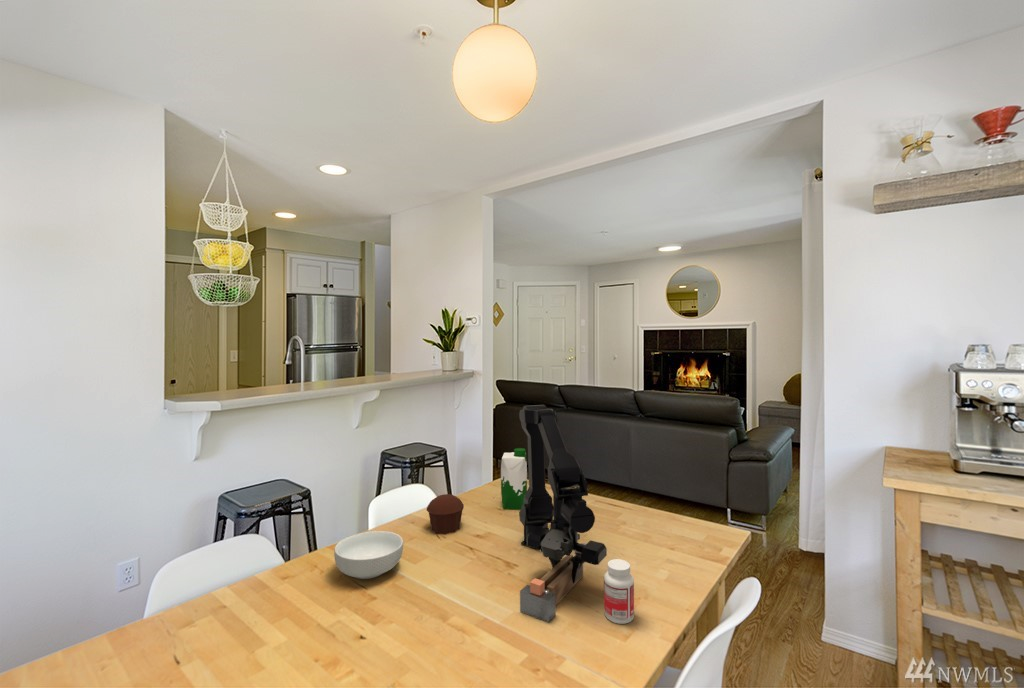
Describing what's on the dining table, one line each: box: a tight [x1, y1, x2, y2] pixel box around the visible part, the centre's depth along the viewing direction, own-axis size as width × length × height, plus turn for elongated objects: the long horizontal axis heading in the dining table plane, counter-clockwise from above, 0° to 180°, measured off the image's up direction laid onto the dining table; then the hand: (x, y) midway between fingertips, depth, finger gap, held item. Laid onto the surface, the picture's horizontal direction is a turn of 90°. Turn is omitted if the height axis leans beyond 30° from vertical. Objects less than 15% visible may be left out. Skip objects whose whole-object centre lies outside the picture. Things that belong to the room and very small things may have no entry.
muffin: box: [426, 493, 465, 535], centre depth 141 cm, size 12×11×10 cm
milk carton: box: [500, 447, 528, 511], centre depth 160 cm, size 9×9×20 cm
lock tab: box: [529, 577, 545, 596], centre depth 97 cm, size 2×2×2 cm
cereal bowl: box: [333, 530, 404, 580], centre depth 116 cm, size 17×17×7 cm
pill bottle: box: [603, 558, 635, 625], centre depth 96 cm, size 6×6×11 cm
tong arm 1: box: [539, 554, 574, 590], centre depth 107 cm, size 16×2×4 cm, turn 147°
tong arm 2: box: [547, 562, 584, 607], centre depth 106 cm, size 16×2×4 cm, turn 147°
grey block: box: [519, 584, 556, 623], centre depth 98 cm, size 7×4×5 cm, turn 57°
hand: (565, 580), depth 109 cm, fingers open, 4 cm apart
